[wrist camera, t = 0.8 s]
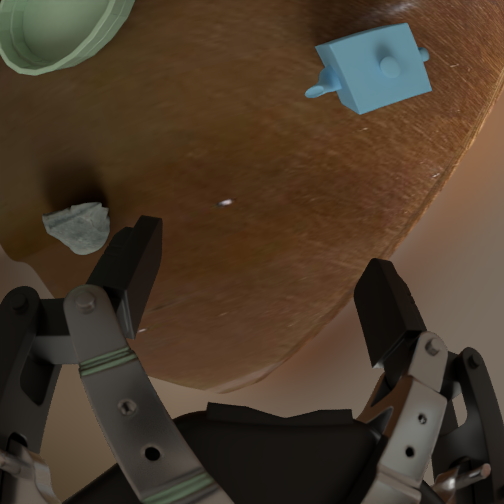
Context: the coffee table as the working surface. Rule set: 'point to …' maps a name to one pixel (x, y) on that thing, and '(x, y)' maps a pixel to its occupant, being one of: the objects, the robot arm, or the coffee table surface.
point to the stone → (79, 226)
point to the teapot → (372, 68)
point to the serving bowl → (57, 31)
